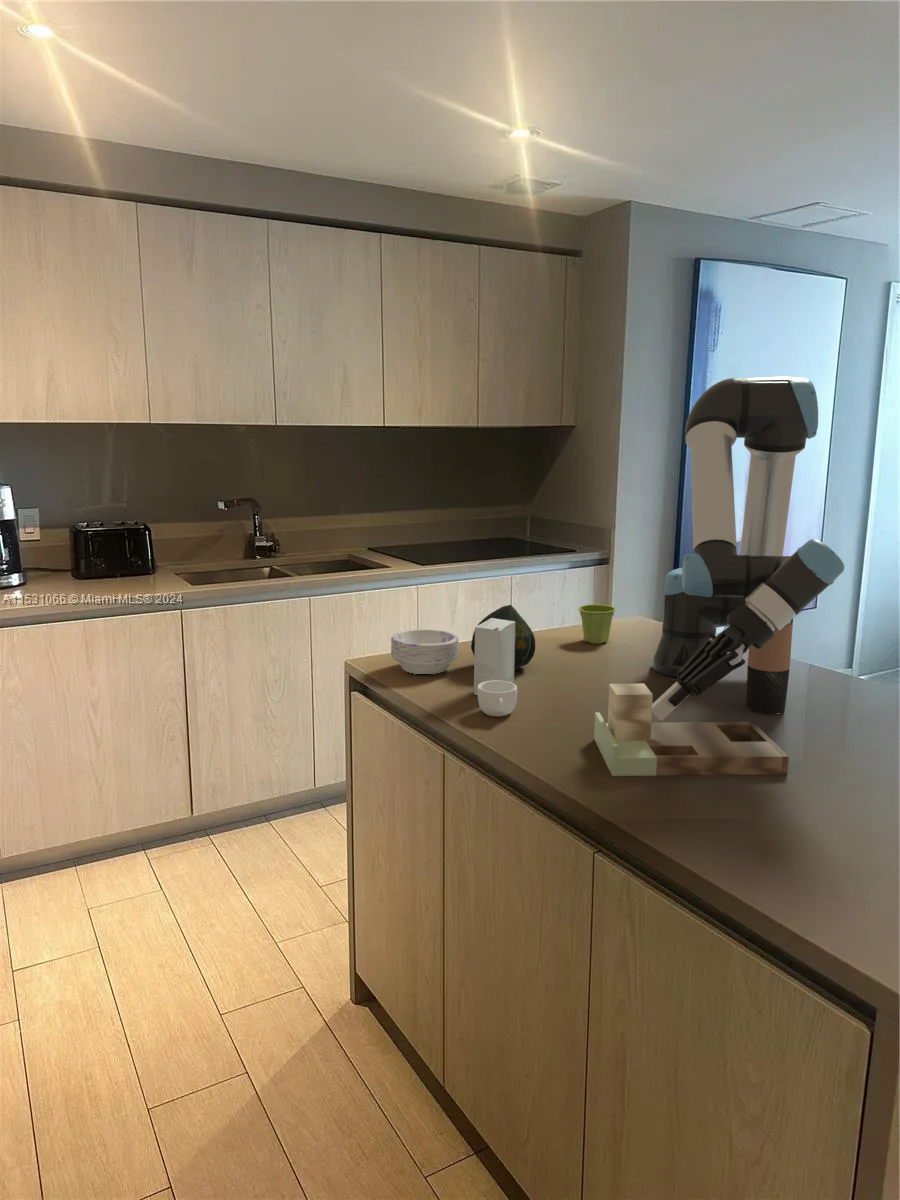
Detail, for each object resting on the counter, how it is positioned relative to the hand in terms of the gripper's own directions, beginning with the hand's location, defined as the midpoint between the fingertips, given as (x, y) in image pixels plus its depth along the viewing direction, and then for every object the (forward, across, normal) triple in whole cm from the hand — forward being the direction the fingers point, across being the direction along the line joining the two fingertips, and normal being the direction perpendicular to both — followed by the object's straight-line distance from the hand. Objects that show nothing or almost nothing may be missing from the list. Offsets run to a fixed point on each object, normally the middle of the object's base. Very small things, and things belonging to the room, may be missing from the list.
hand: (654, 714), depth 145 cm
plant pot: (+2, +74, -8) cm, 75 cm away
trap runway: (-1, -2, -11) cm, 11 cm away
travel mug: (-14, +21, -24) cm, 35 cm away
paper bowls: (+33, +50, +23) cm, 64 cm away
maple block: (+6, 0, 0) cm, 6 cm away
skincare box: (+22, +33, +13) cm, 42 cm away
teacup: (+23, +19, +13) cm, 32 cm away
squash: (+20, +51, +11) cm, 56 cm away
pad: (+9, -2, -1) cm, 9 cm away
